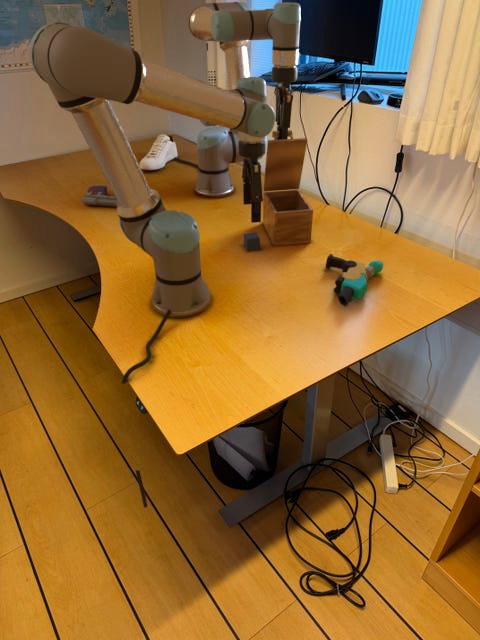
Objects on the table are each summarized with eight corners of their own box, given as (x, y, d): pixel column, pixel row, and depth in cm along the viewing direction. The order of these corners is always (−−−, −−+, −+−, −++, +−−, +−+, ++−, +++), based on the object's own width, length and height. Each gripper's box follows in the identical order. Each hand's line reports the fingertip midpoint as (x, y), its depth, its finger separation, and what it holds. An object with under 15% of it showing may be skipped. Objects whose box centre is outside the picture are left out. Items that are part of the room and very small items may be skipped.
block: (260, 249, 149) (260, 237, 147) (247, 251, 148) (247, 239, 146) (256, 243, 152) (256, 231, 150) (243, 245, 152) (243, 233, 149)
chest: (310, 242, 153) (313, 210, 146) (273, 245, 151) (274, 212, 145) (296, 220, 167) (298, 189, 160) (262, 222, 165) (263, 192, 159)
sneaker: (133, 173, 208) (129, 144, 201) (161, 153, 230) (158, 127, 223) (155, 175, 205) (151, 146, 198) (180, 155, 227) (178, 129, 220)
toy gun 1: (139, 195, 187) (124, 210, 175) (95, 192, 190) (77, 207, 178) (137, 185, 184) (122, 200, 173) (93, 182, 188) (75, 197, 176)
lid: (307, 139, 145) (301, 124, 149) (268, 142, 143) (263, 126, 148) (299, 188, 159) (293, 173, 164) (263, 191, 158) (259, 175, 163)
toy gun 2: (303, 285, 123) (360, 300, 117) (335, 245, 141) (386, 256, 135) (302, 300, 125) (358, 315, 119) (334, 258, 144) (383, 270, 138)
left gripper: (275, 152, 121) (272, 229, 134) (256, 127, 141) (256, 196, 154) (246, 154, 121) (246, 231, 133) (231, 129, 140) (233, 198, 153)
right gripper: (304, 69, 133) (299, 154, 147) (291, 61, 145) (287, 141, 159) (278, 70, 132) (275, 156, 146) (267, 62, 144) (265, 142, 158)
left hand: (251, 212), depth 143 cm, fingers open, 13 cm apart
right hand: (281, 148), depth 153 cm, fingers closed on lid, 2 cm apart
